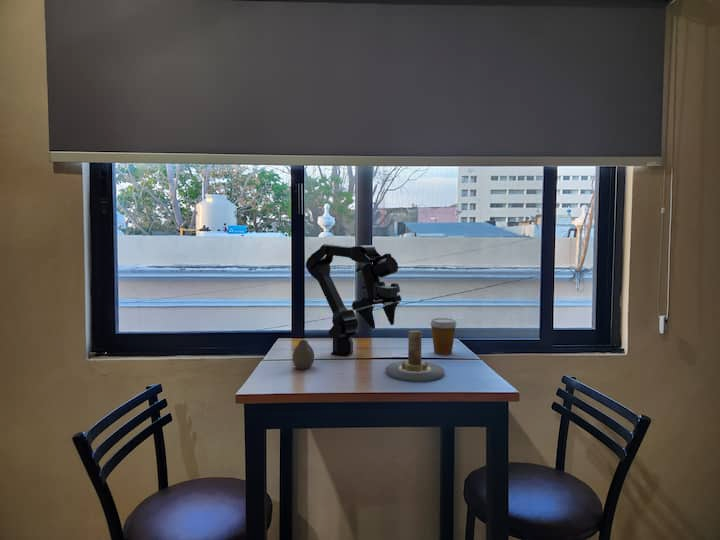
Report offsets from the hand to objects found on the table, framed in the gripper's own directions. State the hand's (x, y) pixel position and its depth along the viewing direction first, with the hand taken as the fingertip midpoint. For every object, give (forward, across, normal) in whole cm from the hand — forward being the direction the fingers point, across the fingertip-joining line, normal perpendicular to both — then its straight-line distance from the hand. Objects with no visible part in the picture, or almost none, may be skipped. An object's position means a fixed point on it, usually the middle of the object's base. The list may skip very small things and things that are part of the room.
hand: (383, 326), depth 151 cm
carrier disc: (+16, 0, -9) cm, 18 cm away
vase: (+7, -22, +18) cm, 29 cm away
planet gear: (+15, 0, -9) cm, 17 cm away
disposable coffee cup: (+14, +27, -1) cm, 30 cm away
